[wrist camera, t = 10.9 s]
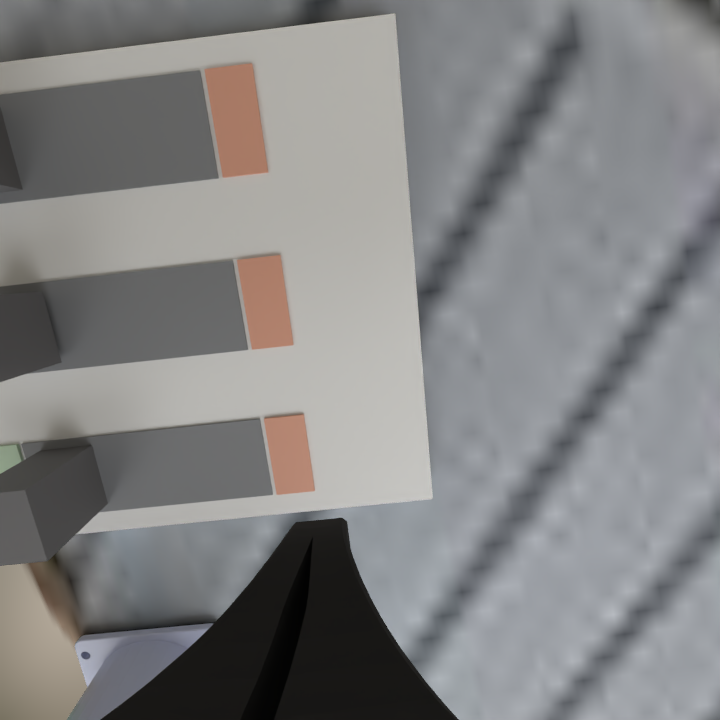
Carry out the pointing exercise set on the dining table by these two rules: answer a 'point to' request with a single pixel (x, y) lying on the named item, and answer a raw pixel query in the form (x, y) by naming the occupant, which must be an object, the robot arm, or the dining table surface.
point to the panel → (210, 283)
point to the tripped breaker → (25, 335)
